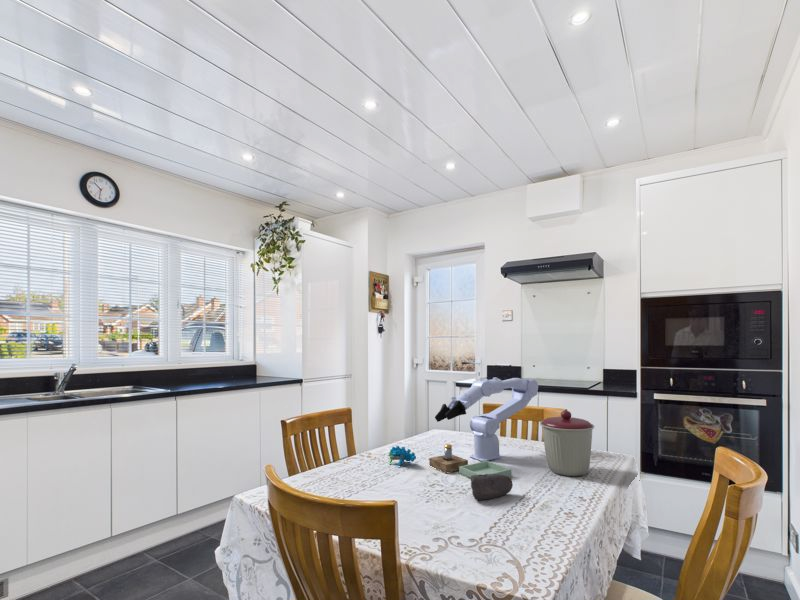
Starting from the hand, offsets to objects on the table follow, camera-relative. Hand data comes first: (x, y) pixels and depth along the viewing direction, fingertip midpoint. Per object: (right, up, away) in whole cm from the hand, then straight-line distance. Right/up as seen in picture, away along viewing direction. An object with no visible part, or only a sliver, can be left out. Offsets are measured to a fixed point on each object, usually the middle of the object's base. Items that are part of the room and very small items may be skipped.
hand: (441, 418), depth 161 cm
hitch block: (+2, -17, -2) cm, 18 cm away
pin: (+2, -18, -2) cm, 18 cm away
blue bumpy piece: (-15, -18, +3) cm, 24 cm away
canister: (+44, -17, -8) cm, 48 cm away
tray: (+14, -17, -11) cm, 24 cm away
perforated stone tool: (+12, -15, -31) cm, 37 cm away
